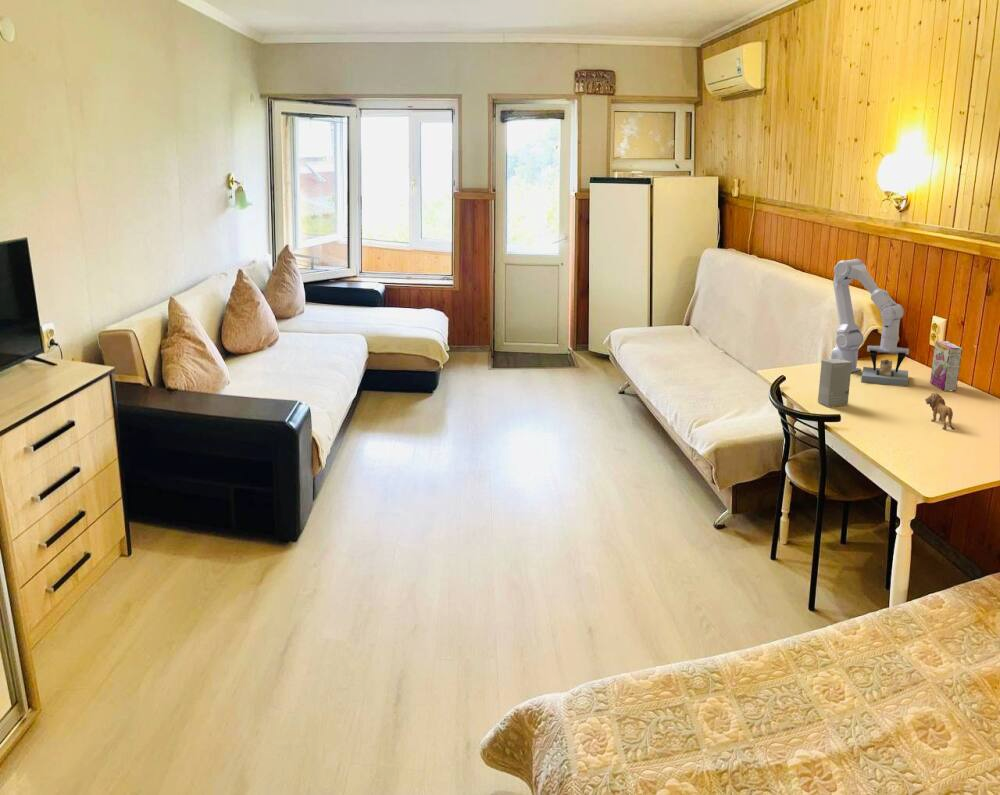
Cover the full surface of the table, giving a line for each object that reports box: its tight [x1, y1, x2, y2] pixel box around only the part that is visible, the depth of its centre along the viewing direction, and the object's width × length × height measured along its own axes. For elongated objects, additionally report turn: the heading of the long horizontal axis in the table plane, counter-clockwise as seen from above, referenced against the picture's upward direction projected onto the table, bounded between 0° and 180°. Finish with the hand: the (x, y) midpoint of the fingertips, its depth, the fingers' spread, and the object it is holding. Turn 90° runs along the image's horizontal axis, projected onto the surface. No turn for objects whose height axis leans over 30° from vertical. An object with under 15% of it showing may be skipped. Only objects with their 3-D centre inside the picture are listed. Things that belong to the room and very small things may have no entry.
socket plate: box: [860, 366, 909, 387], centre depth 321 cm, size 16×14×2 cm
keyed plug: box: [879, 359, 893, 376], centre depth 320 cm, size 4×6×7 cm, turn 155°
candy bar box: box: [929, 340, 963, 392], centre depth 308 cm, size 11×5×16 cm, turn 179°
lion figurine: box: [924, 392, 956, 431], centre depth 270 cm, size 15×5×9 cm, turn 5°
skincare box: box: [817, 358, 852, 408], centre depth 292 cm, size 8×7×16 cm
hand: (885, 370), depth 320 cm, fingers open, 7 cm apart
